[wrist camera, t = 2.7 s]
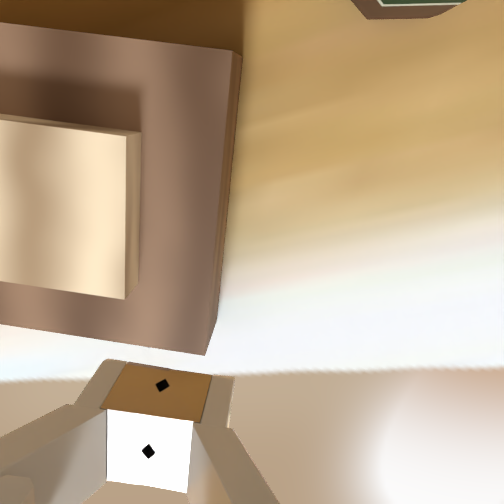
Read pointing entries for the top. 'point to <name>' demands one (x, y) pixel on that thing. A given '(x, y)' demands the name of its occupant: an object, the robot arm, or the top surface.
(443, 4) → the beer bottle
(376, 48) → the top surface
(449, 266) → the top surface
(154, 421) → the robot arm
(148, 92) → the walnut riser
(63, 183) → the birch tile
